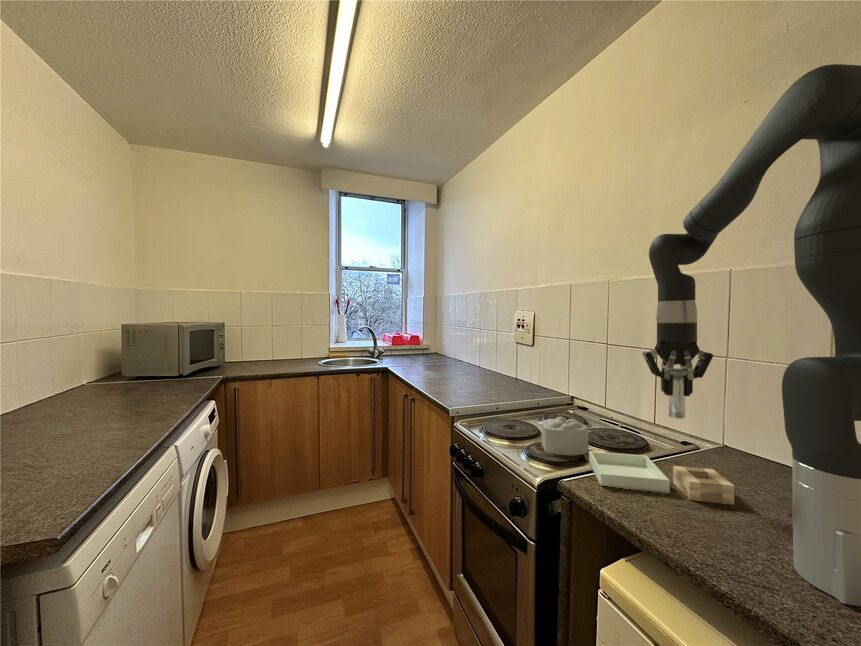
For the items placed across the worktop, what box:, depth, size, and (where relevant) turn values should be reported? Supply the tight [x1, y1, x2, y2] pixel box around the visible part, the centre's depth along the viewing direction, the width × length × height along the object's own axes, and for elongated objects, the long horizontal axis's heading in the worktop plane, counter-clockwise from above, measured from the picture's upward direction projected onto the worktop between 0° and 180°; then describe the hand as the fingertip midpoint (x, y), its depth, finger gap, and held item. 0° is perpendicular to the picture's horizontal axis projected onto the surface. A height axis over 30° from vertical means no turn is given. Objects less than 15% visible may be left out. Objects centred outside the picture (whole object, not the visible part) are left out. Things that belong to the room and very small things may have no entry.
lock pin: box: [668, 367, 688, 420], centre depth 77 cm, size 4×4×11 cm
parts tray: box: [588, 450, 671, 495], centre depth 83 cm, size 14×14×3 cm
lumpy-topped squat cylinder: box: [540, 416, 589, 456], centre depth 101 cm, size 10×13×9 cm
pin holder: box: [672, 465, 735, 505], centre depth 74 cm, size 8×8×4 cm
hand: (676, 394), depth 77 cm, fingers closed on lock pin, 3 cm apart
